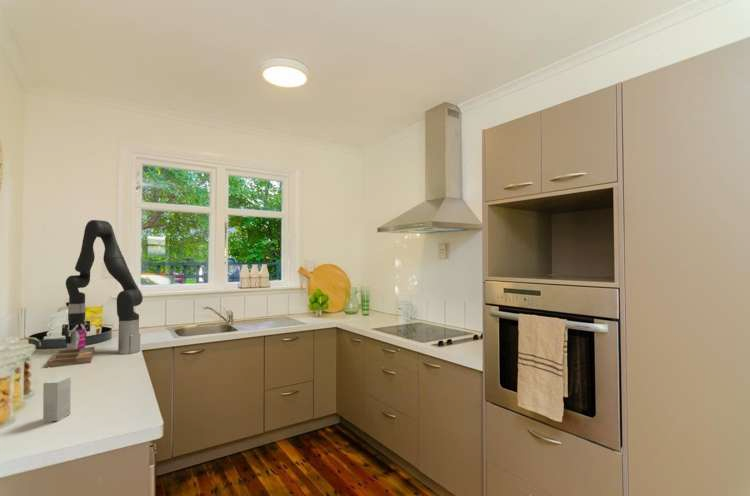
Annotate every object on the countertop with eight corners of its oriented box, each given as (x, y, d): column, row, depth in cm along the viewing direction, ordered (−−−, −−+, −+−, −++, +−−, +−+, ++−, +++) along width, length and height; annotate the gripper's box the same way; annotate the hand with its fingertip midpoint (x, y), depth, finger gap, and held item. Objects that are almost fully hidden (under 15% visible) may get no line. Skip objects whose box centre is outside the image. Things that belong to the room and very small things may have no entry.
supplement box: (75, 352, 209) (76, 330, 210) (66, 351, 210) (67, 330, 211) (85, 349, 215) (86, 328, 215) (76, 349, 216) (77, 328, 216)
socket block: (55, 356, 200) (56, 349, 200) (94, 352, 209) (94, 346, 209) (47, 367, 179) (47, 360, 179) (90, 362, 188) (90, 355, 188)
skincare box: (56, 414, 124) (57, 376, 125) (70, 414, 125) (71, 376, 125) (41, 422, 118) (42, 382, 119) (56, 422, 119) (57, 382, 119)
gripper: (83, 309, 221) (82, 338, 221) (58, 313, 207) (57, 344, 207) (94, 310, 219) (93, 339, 219) (69, 313, 205) (68, 344, 205)
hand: (76, 341), depth 213 cm, fingers open, 8 cm apart
